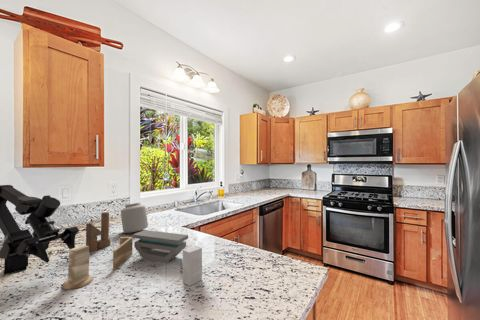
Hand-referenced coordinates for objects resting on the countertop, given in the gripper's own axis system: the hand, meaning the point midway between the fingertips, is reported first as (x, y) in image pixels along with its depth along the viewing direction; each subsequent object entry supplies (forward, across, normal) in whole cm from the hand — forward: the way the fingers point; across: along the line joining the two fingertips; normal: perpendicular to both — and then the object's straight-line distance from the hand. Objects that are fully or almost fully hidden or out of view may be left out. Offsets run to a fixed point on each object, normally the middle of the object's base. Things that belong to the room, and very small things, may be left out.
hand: (61, 256), depth 83 cm
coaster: (+12, 0, 0) cm, 12 cm away
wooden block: (-4, -28, -16) cm, 33 cm away
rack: (+12, -19, 0) cm, 22 cm away
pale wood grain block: (+12, 0, +1) cm, 12 cm away
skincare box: (+40, -12, +28) cm, 51 cm away
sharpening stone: (+23, -27, +11) cm, 37 cm away
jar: (-7, -57, -19) cm, 61 cm away
